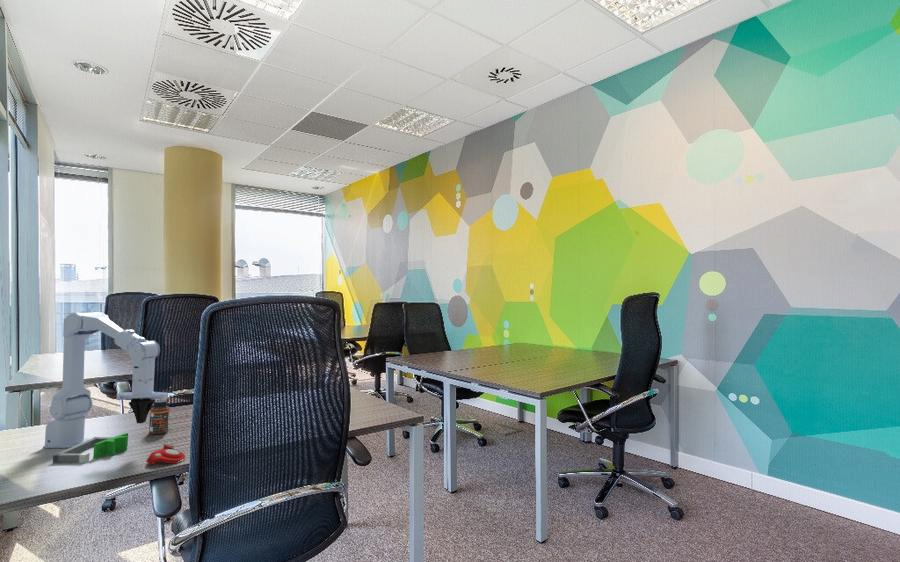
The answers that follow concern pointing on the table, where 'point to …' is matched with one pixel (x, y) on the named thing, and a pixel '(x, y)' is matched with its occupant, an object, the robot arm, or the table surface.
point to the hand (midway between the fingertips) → (141, 422)
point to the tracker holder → (165, 455)
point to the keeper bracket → (77, 452)
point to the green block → (111, 446)
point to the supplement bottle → (159, 417)
